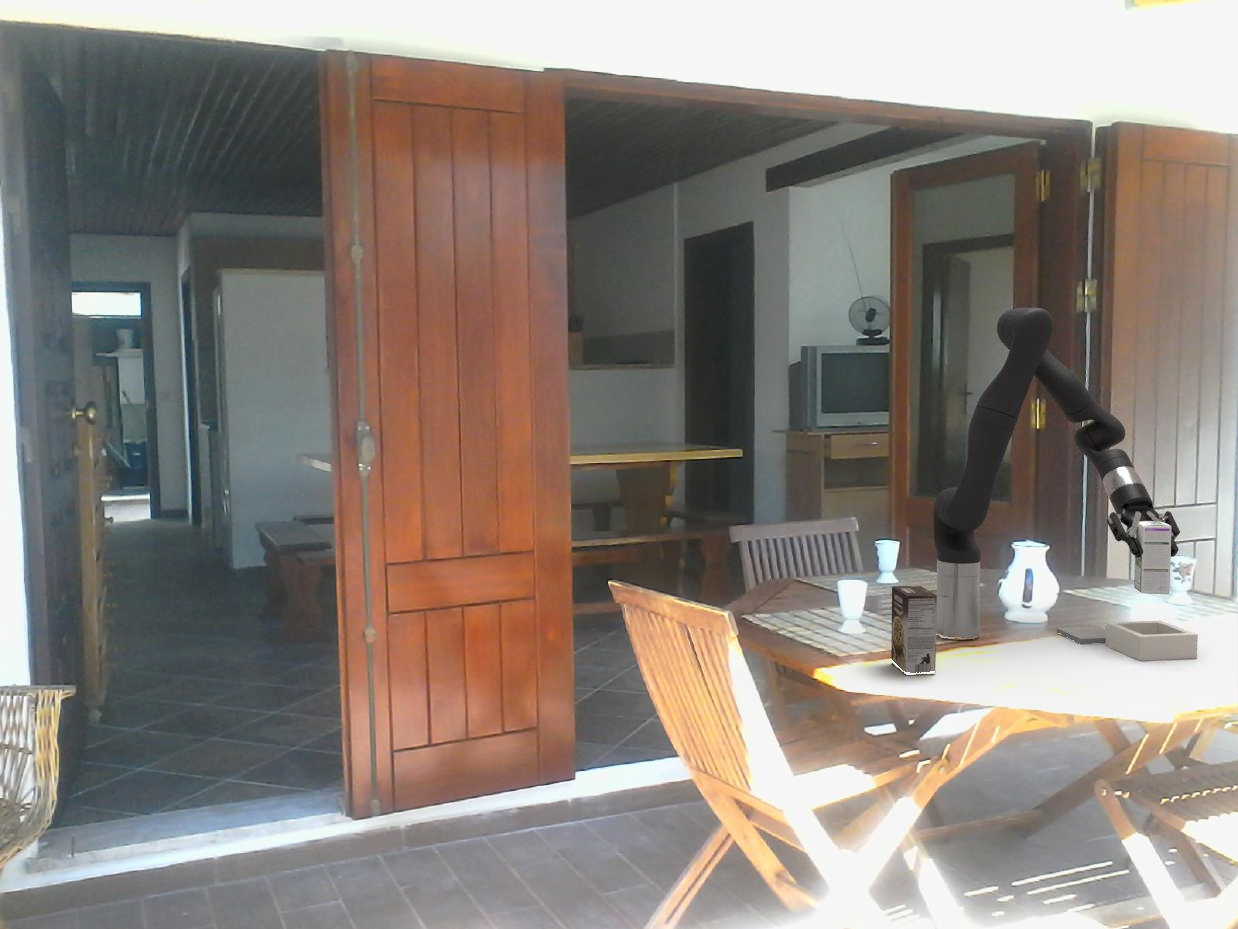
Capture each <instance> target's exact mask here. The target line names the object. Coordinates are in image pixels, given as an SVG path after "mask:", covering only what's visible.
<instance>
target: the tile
mask: <svg viewBox="0 0 1238 929" xmlns="http://www.w3.org/2000/svg"><path fill="white" fill-rule="evenodd" d="M1057 633H1061V634H1062V635H1064V636H1065V637H1064V636H1063V637H1064V638H1066V637H1068V638H1070V639H1071V640H1070V639H1069V640H1070V641H1072V640H1074V641H1075V642H1074V641H1073V642H1074V643H1076V644H1079V643H1080V644H1079V645H1094V644H1093V643H1100V644H1106V628H1103V627H1101V626H1098V625H1097V626H1074V627H1072V626H1071V627H1057V628H1056V634H1057ZM1068 638H1067V639H1068Z"/></svg>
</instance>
